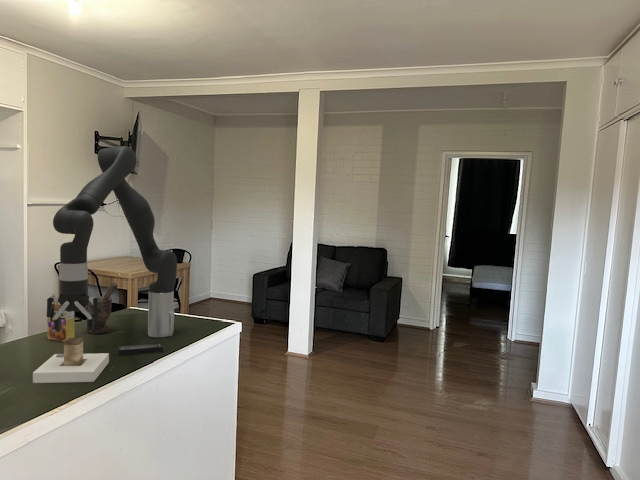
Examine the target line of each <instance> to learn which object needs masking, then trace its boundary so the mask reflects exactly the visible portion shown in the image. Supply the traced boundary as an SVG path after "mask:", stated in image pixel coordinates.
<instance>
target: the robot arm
mask: <svg viewBox="0 0 640 480" xmlns="http://www.w3.org/2000/svg"><path fill="white" fill-rule="evenodd" d="M137 159H138V158H137V155H136V152H135V151H134V150H133V149H132V148H131V147H129V146H127V145H126V146H125V145H119V146H112V147H105V148H102V149H100V150H99V151H98V153H97V163H98V166H99V168H100V171H101V172H102V173H101V174H99V175H97V176H95V178H92V180H90V181H89V182H88V183H86V185H84V186H83V188H82V189H81V190H80V192H79V193H78V194H77V196H76V197H75V198H73V199H72V200H70V201H69V202H68V203H66V204H64V205H63V206H62V207H60V209H58V211H56V213H55V215H54V216H53V220H52V225H53V228H54V230H55V231H56V232H57V233H60V234H65V235H74V237H73V239H72V240H71V241H68V242H64V243H62V244H61V245H60V248H59V258H60V259H59V262H60V263H59V271H58V272H59V274H58V278H59V281H58V282H59V285H58V286H59V289H58V290H59V296H54V295H51V296H50V297H48V298H47V299H46V318H47V317H48V318H53V319H54V329H55V330H56V332H60V331H61V329H62V328H61V318H60V316H61V315H62V314H63V313H64V312H65V311H67V312H71V311H74V313H76V312H77V313H79V312H81V313H82V314H83V315H84V316H86V318H87V319H86V323H87V325H86V327H87V328H86V330H87V331H86V332H89V331H91V330H92V329H93V328H94V318H95V317H98V316H99V315H100V314H101V310H100V297H101V296H99V295H97V296H91V297H90V296H89V268H88V266H89V265H88V246H89V243H90V240H91V237H92V232H93V229H94V218H93V216H92V215H94V214H96V213H97V212H98V211H99V209H100V208H101V207H102V204H103V203H104V202H105V200H106V199H107V197H108V196H109V195H110V194H111V193H112V192H113V193H114V195H115V198H116V199H117V201H118V204H119V205H120V208H121V210H122V213H123V214H124V217H125V220H126V221H127V224H128V226H129V228H130V229H131V231H132V235H133V236H134V239H135V240H136V244H137V247H138V249H139V251H140V255H141V258H142V261H143V264H144V266H145V268H146V269H147V271H148V272H149V273H150V272H151V273H153V274H157V277H156V281H153V282H151V283H149V285H148V305H147V306H148V308H147V309H148V311H147V313H148V314H147V319H148V320H147V335H148V336H149V337H150V338H166V337H173V334H174V332H175V331H174V330H175V328H174V326H175V325H174V324H175V309H174V300H175V298H174V297H175V294H174V293H175V290H174V289H175V285H176V282H177V274H178V273H177V272H178V258H177V256H176V254H175V253H174V252H173V251H171V250H165V249H160V247H158V245H157V243H156V240H155V238H154V230H155V223H156V221H155V219H156V218H155V216H154V213H153V211H152V209H151V205H150V203H149V202H148V200H147V199H146V198H145V197H144V196H143V195H141V193H140V192H138V191H137V190H136V189H134V188H133V186H131V185H130V184H129V183H128V182H127V180H126V178H127V177H128V176H129V175H130V174H131V173H132V172H133V171H134V170H135V168H136V166H137V163H138V162H137V161H138V160H137ZM57 301H58V302H59V303H60V305H61V306H62V307H61V308H60V309H59V310H58V312H57V313H54V308H55V304H56V303H57ZM89 301H90V302H91V304H93V306H94V313H93V312H92V311H91V310H90V308H89V307H88V302H89Z"/></svg>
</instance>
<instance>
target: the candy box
mask: <svg viewBox="0 0 640 480" xmlns="http://www.w3.org/2000/svg"><path fill="white" fill-rule="evenodd" d="M61 307H62V306H61V305H60V303H59V302H58V301H57V303H56V304H55V308H54V313H57V312H58V310H59V309H60V308H61ZM60 318H61V328H62V329H61V331H60V332H56V330H55V329H54V319H53V318H48V317H47V316H46V320H47V322H46V323H47V324H46V326H47V329H46V330H47V340H52V341H57V342H58V341H59V342H62V343H64V341H66V340H67V339H68V338H75V312H74V311H71V312H67V311H65V312H64V313H63V314H62V315H61V316H60Z"/></svg>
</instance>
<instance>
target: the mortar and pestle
mask: <svg viewBox="0 0 640 480" xmlns="http://www.w3.org/2000/svg"><path fill="white" fill-rule="evenodd" d="M118 287H119V286H118V284H117V283H116V282H112V283H110V284H109V286H108V287H107V290H106V292H105V293H104V296H99V297H100V310H101V314H100V315H99V316H98V317H95V318H94V328H93V329H92V330H91V331H88V333H89V334H94V335H95V334H106V333H108V332H110V327H109V325H107V324H106V322H107V320H109V319H110V317H111V314H112V303H113V299H112V295H113V294H114V293H115V291H116V290H117V289H118ZM87 305H88V307H89V308H90V310H91V311H92V312H93V313H94V306H93V304H91V302H90V301H89V302H88V303H87Z"/></svg>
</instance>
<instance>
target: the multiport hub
mask: <svg viewBox="0 0 640 480" xmlns="http://www.w3.org/2000/svg"><path fill="white" fill-rule="evenodd" d="M153 352H158V353H163V352H164V344H163V342H162V343H161V342H157V343H146V344H134V345H133V344H132V345H121V346H118V347H117V356H118V357H120V356H121V357H122V356H132V355H133V356H134V355H143V354H144V353H146V354H154V353H153ZM144 355H145V354H144Z"/></svg>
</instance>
